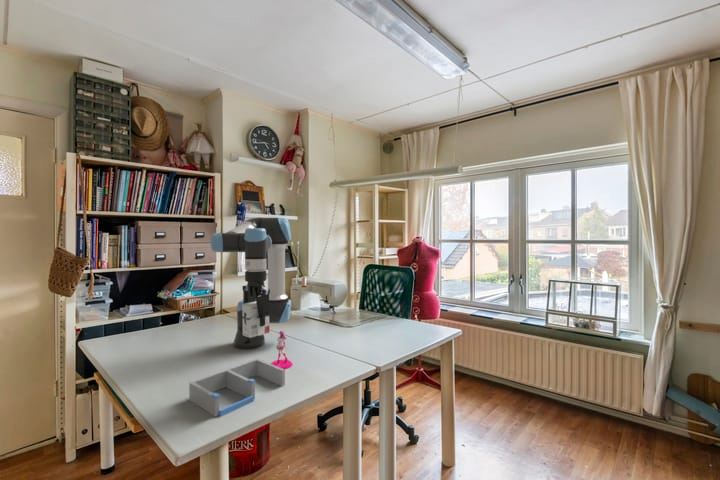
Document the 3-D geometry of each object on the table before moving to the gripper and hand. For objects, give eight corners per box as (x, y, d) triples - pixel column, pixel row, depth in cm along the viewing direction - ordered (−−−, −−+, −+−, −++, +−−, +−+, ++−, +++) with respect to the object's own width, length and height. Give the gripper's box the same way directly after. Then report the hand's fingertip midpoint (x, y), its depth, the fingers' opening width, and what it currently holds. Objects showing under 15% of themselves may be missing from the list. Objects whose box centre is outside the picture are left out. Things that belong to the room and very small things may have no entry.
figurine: (268, 362, 150) (268, 329, 149) (290, 359, 154) (290, 326, 153) (271, 371, 141) (271, 335, 140) (294, 367, 145) (294, 332, 144)
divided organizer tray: (189, 399, 117) (189, 380, 117) (257, 373, 139) (257, 357, 139) (216, 418, 106) (216, 397, 106) (286, 385, 128) (286, 368, 128)
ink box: (262, 329, 130) (262, 299, 129) (269, 332, 127) (269, 301, 126) (241, 335, 123) (241, 303, 123) (249, 338, 120) (249, 305, 120)
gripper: (232, 269, 127) (233, 330, 127) (262, 273, 116) (262, 340, 116) (249, 267, 133) (250, 326, 133) (279, 271, 122) (280, 335, 122)
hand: (256, 333), depth 125 cm, fingers closed on ink box, 5 cm apart
